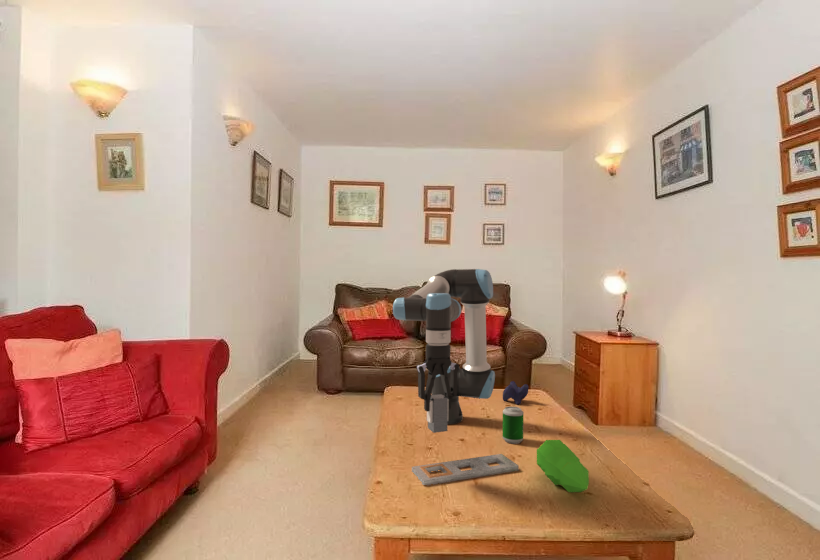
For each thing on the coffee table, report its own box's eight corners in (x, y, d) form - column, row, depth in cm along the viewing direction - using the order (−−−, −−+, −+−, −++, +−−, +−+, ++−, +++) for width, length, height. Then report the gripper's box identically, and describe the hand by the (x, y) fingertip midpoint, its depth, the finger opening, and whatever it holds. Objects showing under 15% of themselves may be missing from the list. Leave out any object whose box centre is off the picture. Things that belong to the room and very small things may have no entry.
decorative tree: (554, 426, 144) (598, 459, 114) (568, 459, 143) (615, 501, 113) (522, 440, 143) (558, 477, 113) (536, 473, 143) (575, 519, 113)
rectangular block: (427, 428, 135) (428, 395, 136) (441, 426, 137) (441, 394, 137) (433, 432, 131) (433, 399, 131) (447, 431, 133) (447, 397, 133)
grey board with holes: (411, 471, 137) (411, 466, 137) (501, 458, 148) (501, 453, 148) (423, 485, 127) (423, 479, 127) (518, 470, 138) (518, 464, 138)
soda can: (523, 445, 160) (524, 412, 160) (502, 443, 162) (502, 410, 162) (522, 438, 167) (523, 406, 167) (502, 436, 169) (502, 405, 169)
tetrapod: (498, 397, 223) (501, 377, 221) (521, 396, 225) (524, 376, 222) (506, 409, 213) (508, 388, 210) (530, 408, 214) (532, 387, 211)
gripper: (415, 346, 128) (415, 427, 128) (469, 344, 134) (469, 421, 134) (406, 343, 135) (406, 419, 135) (458, 341, 141) (457, 414, 141)
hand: (437, 420), depth 134 cm, fingers closed on rectangular block, 4 cm apart
